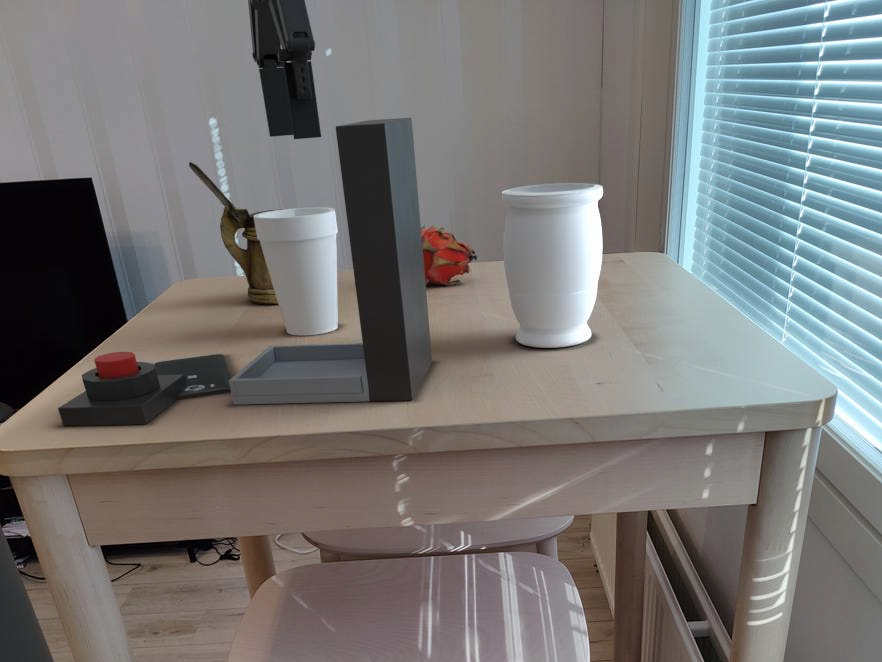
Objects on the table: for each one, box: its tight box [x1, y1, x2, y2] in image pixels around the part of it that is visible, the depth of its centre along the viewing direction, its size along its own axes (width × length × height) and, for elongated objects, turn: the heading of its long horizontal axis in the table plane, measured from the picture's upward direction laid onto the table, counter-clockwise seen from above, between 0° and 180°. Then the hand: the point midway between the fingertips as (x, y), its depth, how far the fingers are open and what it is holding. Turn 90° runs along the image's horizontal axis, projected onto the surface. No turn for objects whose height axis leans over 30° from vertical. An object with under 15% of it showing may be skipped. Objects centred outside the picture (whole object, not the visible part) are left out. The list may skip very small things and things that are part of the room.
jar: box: [501, 182, 604, 349], centre depth 91 cm, size 11×10×15 cm
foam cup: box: [254, 206, 339, 336], centre depth 103 cm, size 10×9×13 cm
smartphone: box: [153, 353, 232, 401], centre depth 90 cm, size 8×15×1 cm, turn 19°
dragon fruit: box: [421, 224, 478, 287], centre depth 125 cm, size 8×8×12 cm
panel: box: [57, 361, 187, 427], centre depth 81 cm, size 8×10×4 cm
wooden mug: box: [188, 161, 285, 305], centre depth 119 cm, size 9×14×18 cm, turn 111°
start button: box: [93, 351, 139, 378], centre depth 80 cm, size 4×4×2 cm
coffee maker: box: [229, 117, 433, 406], centre depth 80 cm, size 17×13×22 cm
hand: (294, 137), depth 94 cm, fingers open, 13 cm apart
